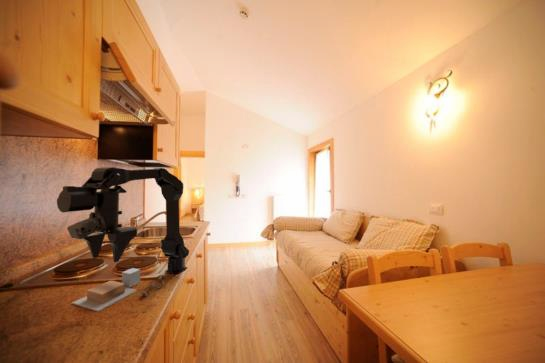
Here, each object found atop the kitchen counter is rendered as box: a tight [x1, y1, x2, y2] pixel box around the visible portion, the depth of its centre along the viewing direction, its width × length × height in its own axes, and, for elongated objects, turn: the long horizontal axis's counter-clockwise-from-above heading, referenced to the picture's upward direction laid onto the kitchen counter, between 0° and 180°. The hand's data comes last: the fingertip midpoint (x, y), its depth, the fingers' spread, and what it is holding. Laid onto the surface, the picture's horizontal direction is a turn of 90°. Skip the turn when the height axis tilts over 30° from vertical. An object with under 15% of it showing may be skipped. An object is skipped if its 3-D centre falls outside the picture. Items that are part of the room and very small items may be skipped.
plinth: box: [86, 280, 125, 304], centre depth 66 cm, size 7×7×3 cm
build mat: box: [71, 287, 138, 313], centre depth 66 cm, size 12×12×1 cm
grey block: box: [121, 267, 141, 289], centre depth 75 cm, size 4×4×5 cm
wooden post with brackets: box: [141, 274, 165, 297], centre depth 71 cm, size 2×8×4 cm, turn 162°
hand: (105, 259), depth 60 cm, fingers open, 9 cm apart
